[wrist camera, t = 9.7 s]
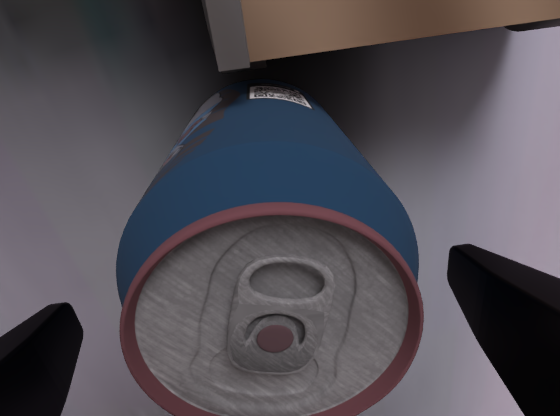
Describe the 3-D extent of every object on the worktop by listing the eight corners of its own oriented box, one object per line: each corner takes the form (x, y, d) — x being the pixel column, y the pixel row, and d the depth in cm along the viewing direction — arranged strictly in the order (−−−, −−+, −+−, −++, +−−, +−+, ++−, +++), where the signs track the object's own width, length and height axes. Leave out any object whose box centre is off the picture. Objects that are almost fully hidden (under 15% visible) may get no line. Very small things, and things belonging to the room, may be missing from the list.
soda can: (316, 223, 20) (392, 462, 9) (182, 206, 19) (89, 450, 8) (349, 89, 17) (523, 206, 6) (193, 61, 16) (69, 140, 5)
